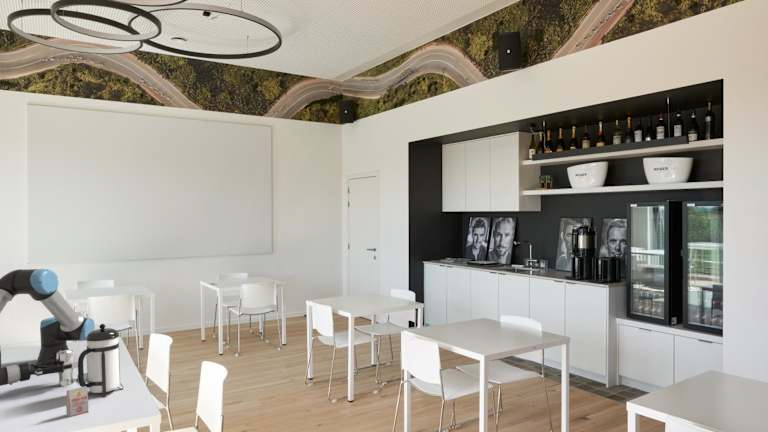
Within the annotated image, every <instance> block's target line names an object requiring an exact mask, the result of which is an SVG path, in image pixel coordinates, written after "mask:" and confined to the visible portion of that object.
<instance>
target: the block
mask: <svg viewBox="0 0 768 432" xmlns="http://www.w3.org/2000/svg"><path fill="white" fill-rule="evenodd" d="M76 376H77V378H78V374H77V375H76ZM84 382H85V383H86V384H87V383H88V375H87V372H84Z"/></svg>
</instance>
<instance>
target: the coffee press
mask: <svg viewBox="0 0 768 432" xmlns="http://www.w3.org/2000/svg"><path fill="white" fill-rule="evenodd" d="M119 336H120V333H119V332H118V331H117V329H114V328H109V327H108V328H107V327H106V324H105V323H101V324H100V325H99V328H98V329H94V331H92V332H90V333H89V334H88V335H87V337H86V340H85V341H86V349H84V350H83V351H82V352H81V353H80V354H79V357H78V359H77V361H78V367H77V375H78V377H77V380H78V384H79V386H80V387H85V386H87V391H88V390H89V392H87V394H88V396H90V394H91V393H93V394H94V393H96V394H102V398H105V397H107V392H111V391H114V390H116V389H119V390H121V391H123V390H124V385H123V384H122V382H121V379H120V373H121V371H120V370H121V367H120V365H121V363H120V342H119ZM85 357H87V359H86V365H87V366H86V367H87V368H86V369H87V370H86V371H87V372H86V373H87V375H88V382H87V383H85V382H84V373H85V372H84V371H85V370H84V359H85ZM119 386H121V387H122V388H121V387H119Z"/></svg>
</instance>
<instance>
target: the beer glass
mask: <svg viewBox="0 0 768 432" xmlns="http://www.w3.org/2000/svg"><path fill="white" fill-rule="evenodd" d="M74 355H75V354H74V350H72V349H69V350H64V351H60V352H57V357H56V364H57V365H63V364H65V363H70V362H75V356H74ZM73 371H74V368H72V369H67V370H64V372H58V385H57V386H58V387H68V386H72V385H73V384H74V383H75V381H74V378H73V377H74V376H73Z"/></svg>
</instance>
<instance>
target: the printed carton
mask: <svg viewBox="0 0 768 432" xmlns="http://www.w3.org/2000/svg"><path fill="white" fill-rule="evenodd" d="M87 389H88V388H87V386H85V387H81V386H80V387H77V388H76V387H75V388H73V389H68V390H66V398H65V407H66V408H65V409H66V411H65V413H66V416H67V417H68V418H72V417H76V416H79V415H83V414H87V413H89V412H90V411H89V395H88V390H87Z"/></svg>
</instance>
